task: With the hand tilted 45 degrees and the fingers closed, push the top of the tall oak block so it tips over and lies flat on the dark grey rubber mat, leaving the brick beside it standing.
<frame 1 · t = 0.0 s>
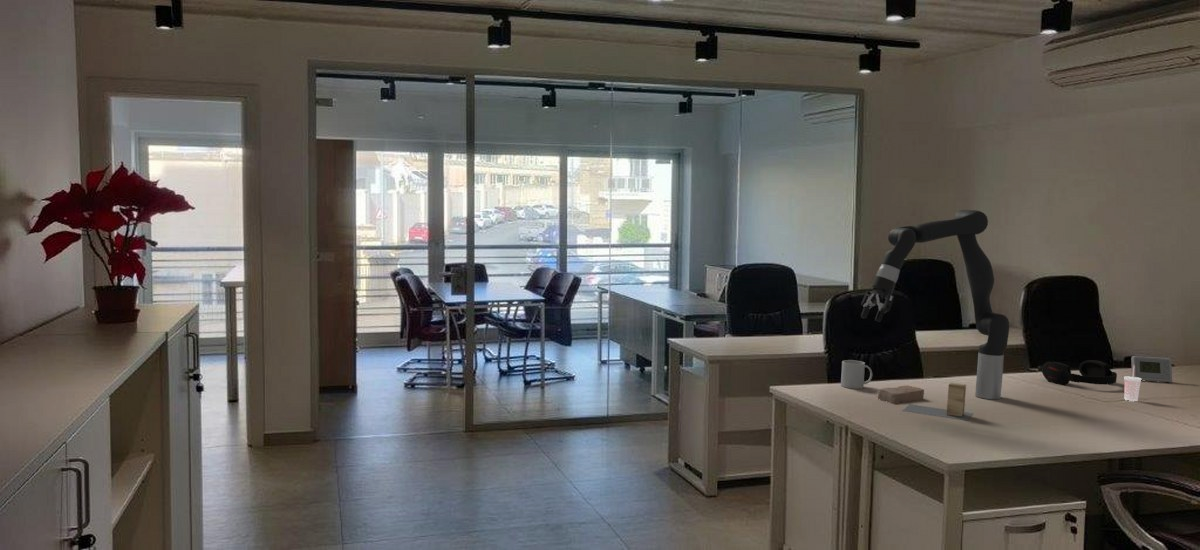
hand: (870, 319, 326), 31 cm above the table, fingers open, 8 cm apart
mat: (937, 413, 317), on the table
digital clock: (1150, 381, 392), on the table
beverage cup: (1130, 400, 350), on the table
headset: (1077, 382, 383), on the table
brick: (900, 400, 337), on the table
oak block: (955, 414, 314), resting on mat
mug: (854, 387, 358), on the table
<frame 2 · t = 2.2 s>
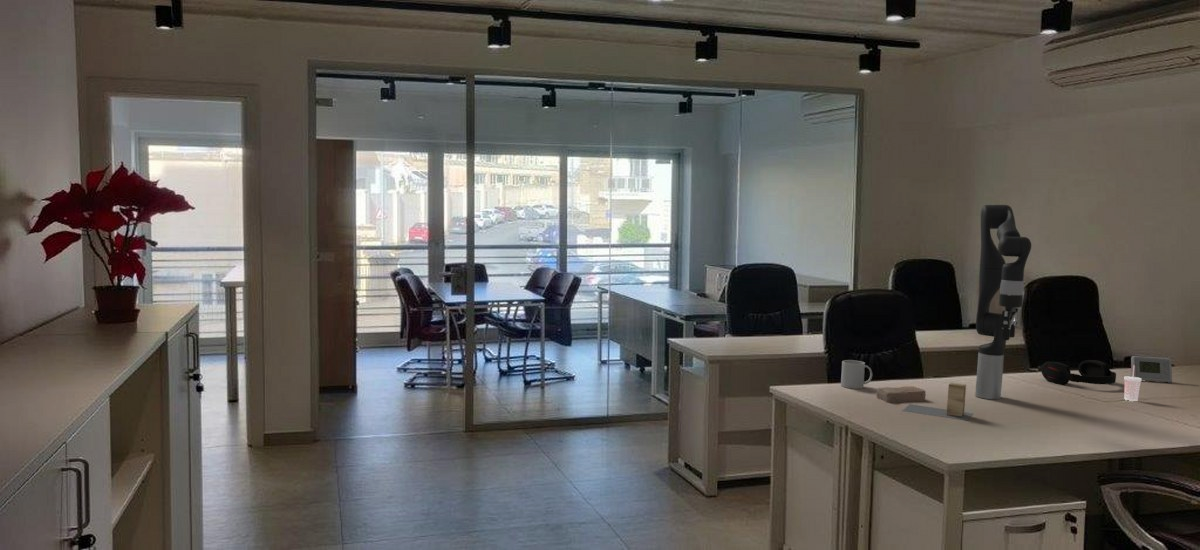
hand: (1008, 338, 313), 28 cm above the table, fingers open, 8 cm apart
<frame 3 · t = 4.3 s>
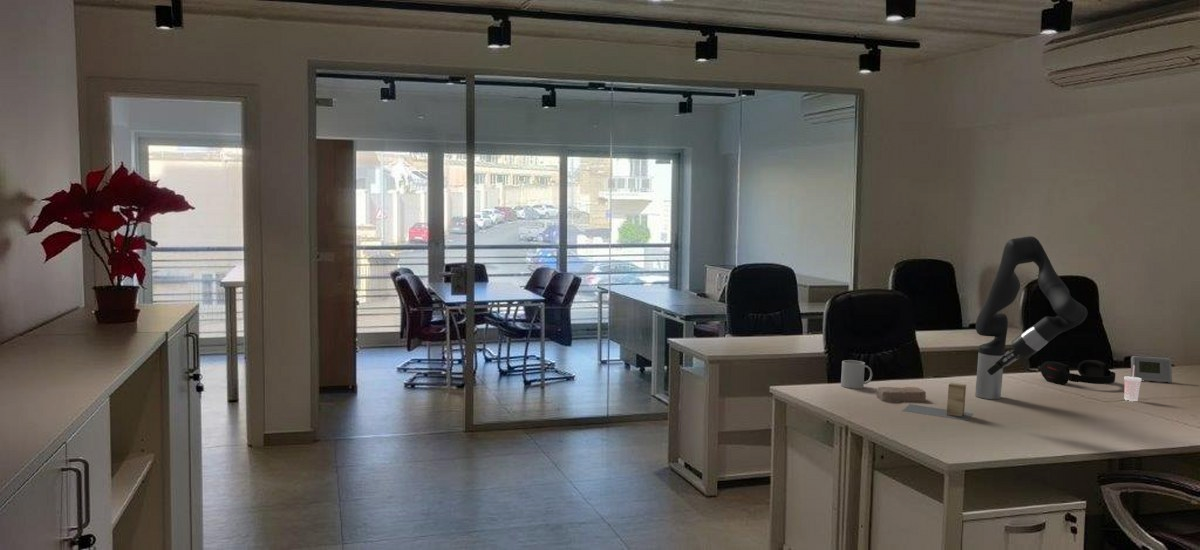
hand: (989, 372, 306), 17 cm above the table, fingers closed
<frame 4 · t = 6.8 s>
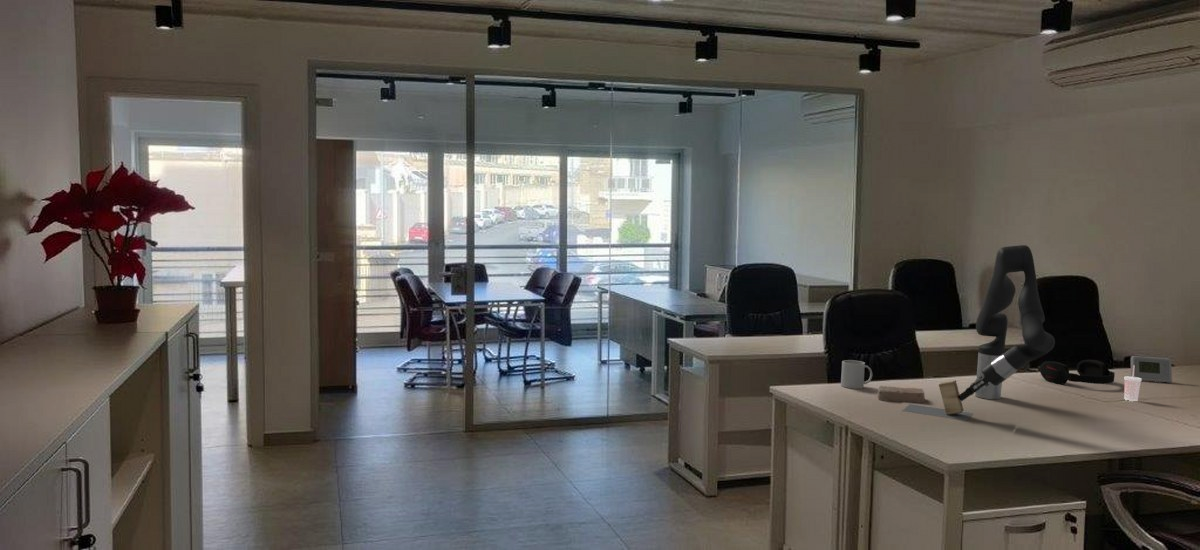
hand: (960, 398, 312), 6 cm above the table, fingers closed
oak block: (955, 412, 314), point 1 cm above the table, tilted 18°, touching mat
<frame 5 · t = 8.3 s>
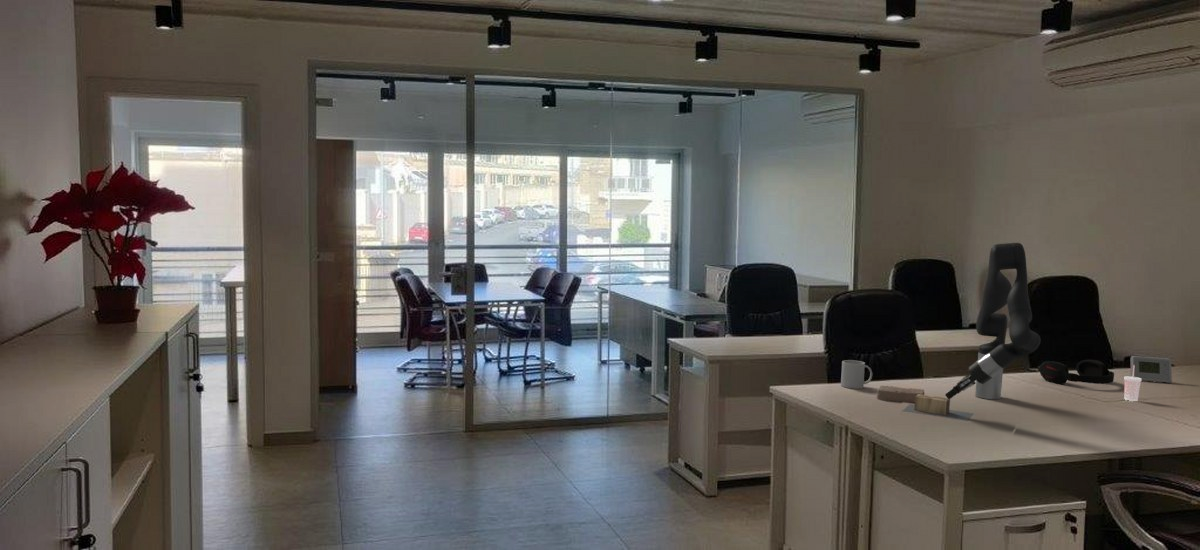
hand: (947, 396, 315), 6 cm above the table, fingers closed
oak block: (948, 406, 315), point 3 cm above the table, tilted 90°, touching mat
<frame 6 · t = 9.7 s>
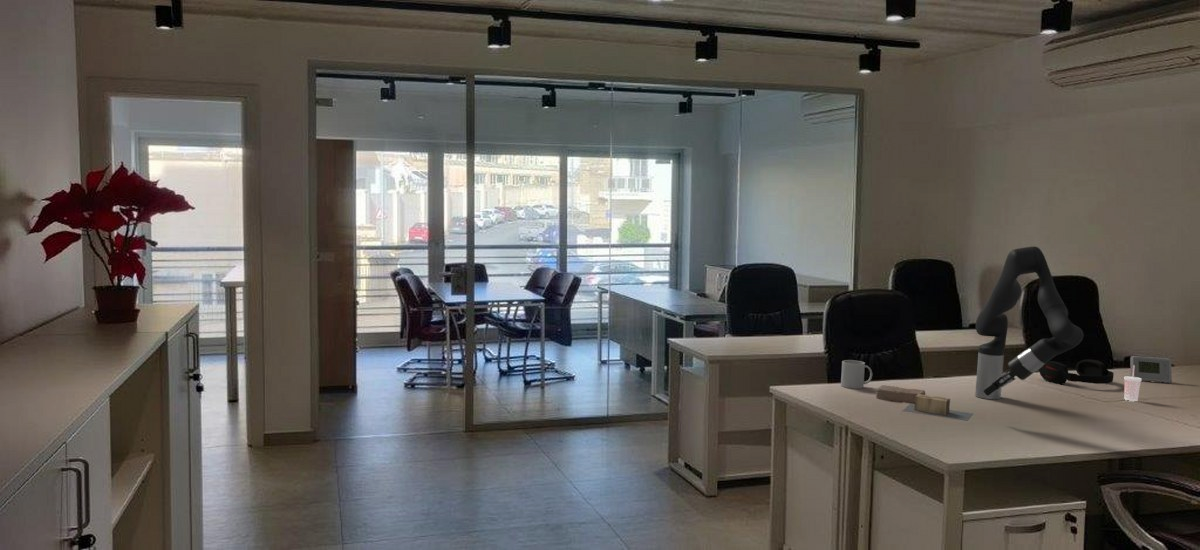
hand: (985, 393, 307), 10 cm above the table, fingers closed
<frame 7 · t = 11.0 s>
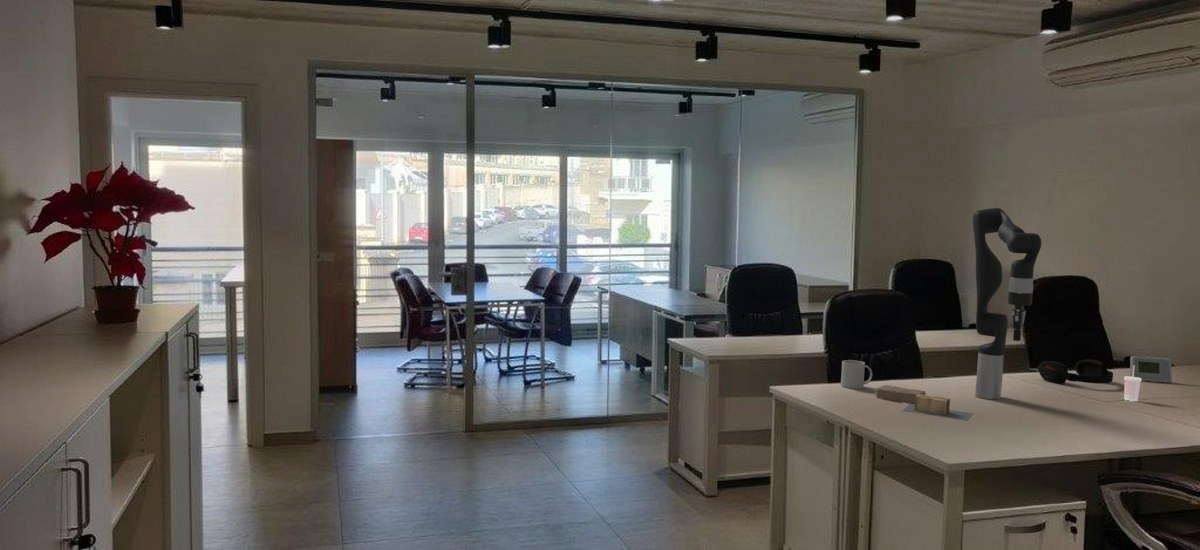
hand: (1016, 340, 306), 29 cm above the table, fingers closed
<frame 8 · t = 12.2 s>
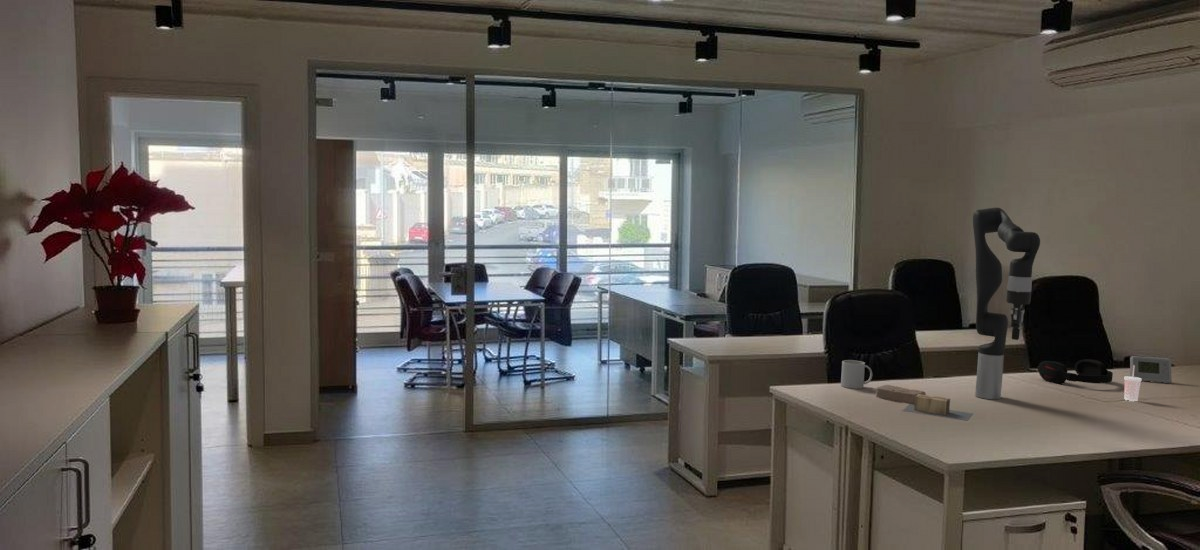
hand: (1015, 339, 306), 29 cm above the table, fingers closed
at the end: oak block tilted 90°; oak block inside the target area on the mat (4.5 cm from its centre), point 2.9 cm above the mat's base; brick moved 0.7 cm from its start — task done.
